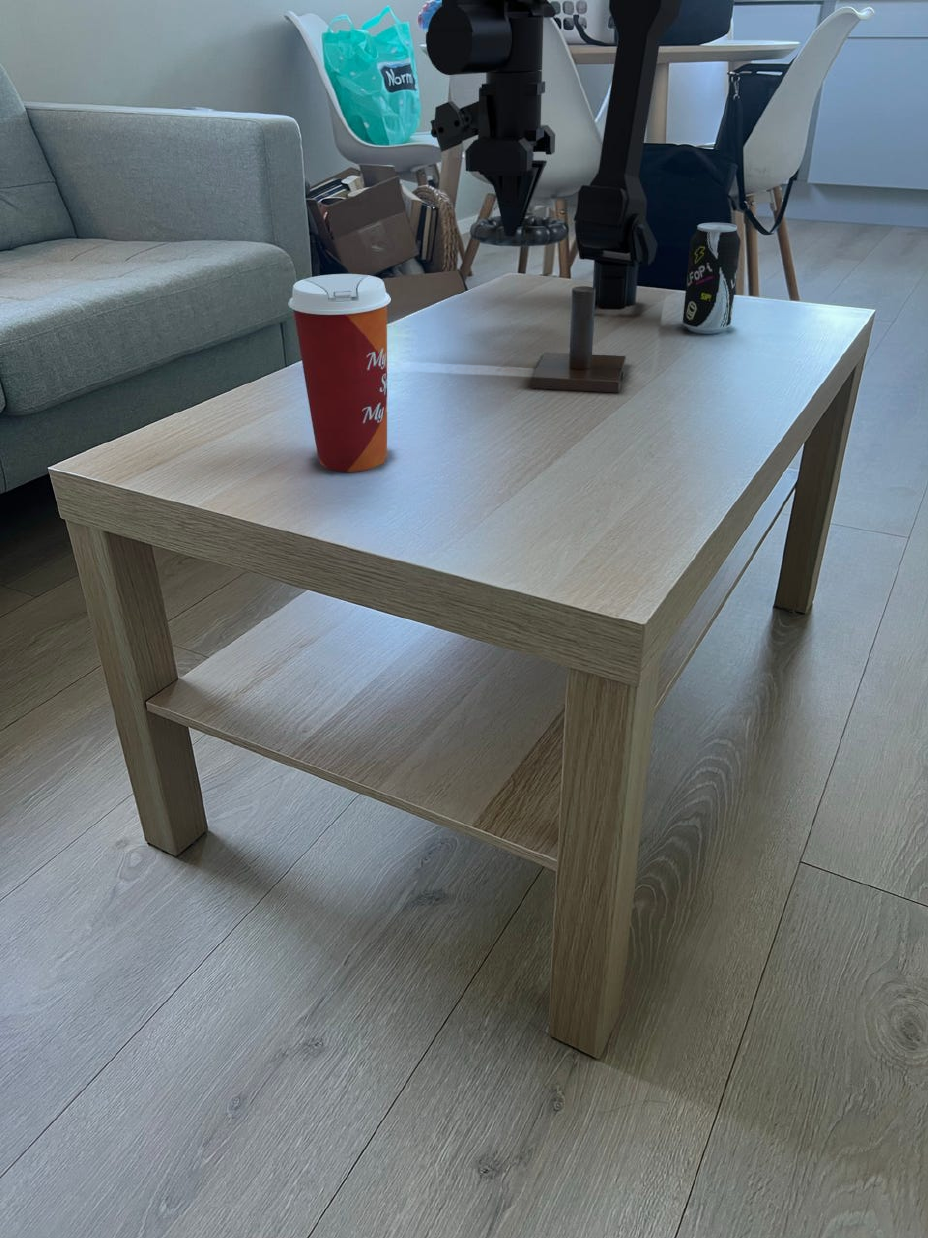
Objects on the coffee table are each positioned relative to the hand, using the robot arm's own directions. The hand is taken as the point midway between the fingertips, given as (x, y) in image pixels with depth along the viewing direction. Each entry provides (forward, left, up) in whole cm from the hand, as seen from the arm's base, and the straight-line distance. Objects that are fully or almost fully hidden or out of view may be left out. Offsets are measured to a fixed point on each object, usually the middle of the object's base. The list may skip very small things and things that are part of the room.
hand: (512, 234), depth 106 cm
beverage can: (-12, +22, -13) cm, 28 cm away
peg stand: (+9, +9, -13) cm, 18 cm away
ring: (-5, 0, 0) cm, 5 cm away
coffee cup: (+35, -8, -13) cm, 38 cm away
